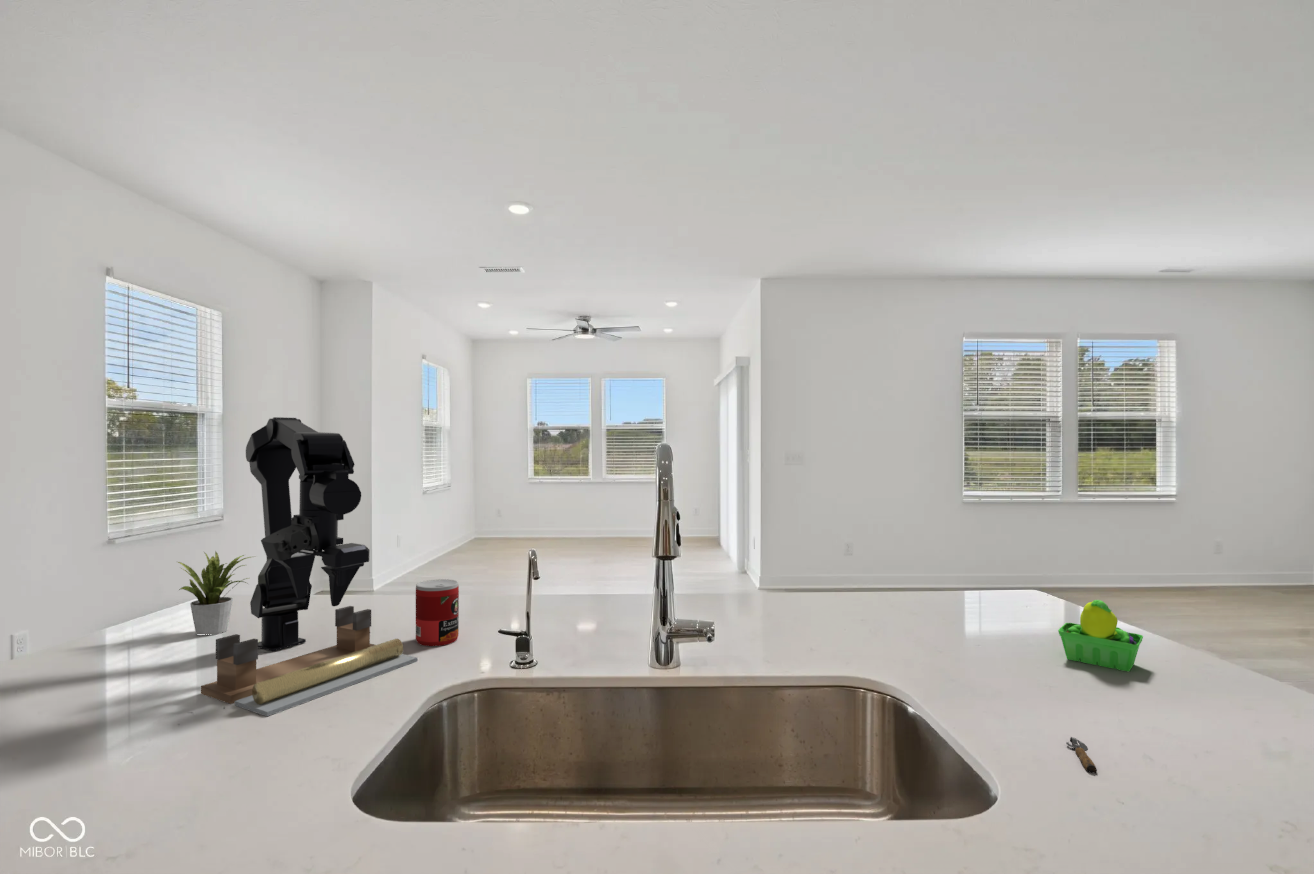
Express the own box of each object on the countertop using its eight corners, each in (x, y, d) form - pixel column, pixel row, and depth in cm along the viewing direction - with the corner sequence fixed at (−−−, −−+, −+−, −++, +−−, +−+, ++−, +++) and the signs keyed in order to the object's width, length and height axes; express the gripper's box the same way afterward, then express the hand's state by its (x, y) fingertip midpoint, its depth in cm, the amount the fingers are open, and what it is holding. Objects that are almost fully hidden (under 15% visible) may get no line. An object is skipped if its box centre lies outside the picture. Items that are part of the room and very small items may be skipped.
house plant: (272, 629, 132) (272, 549, 133) (195, 647, 121) (195, 559, 121) (237, 619, 140) (237, 543, 140) (161, 635, 128) (162, 552, 128)
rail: (263, 707, 92) (265, 686, 92) (251, 701, 94) (252, 680, 94) (402, 657, 113) (403, 640, 113) (390, 653, 115) (392, 636, 115)
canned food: (446, 648, 120) (446, 588, 120) (406, 645, 122) (407, 586, 122) (466, 636, 128) (466, 579, 128) (429, 633, 129) (429, 578, 129)
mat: (234, 705, 94) (234, 701, 94) (386, 653, 117) (386, 650, 117) (267, 716, 90) (267, 712, 90) (417, 660, 113) (417, 657, 113)
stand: (230, 703, 95) (230, 648, 95) (200, 693, 98) (201, 640, 98) (382, 652, 117) (382, 608, 117) (353, 646, 121) (353, 603, 121)
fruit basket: (1144, 664, 111) (1143, 598, 111) (1136, 678, 105) (1136, 607, 105) (1066, 649, 119) (1066, 587, 119) (1055, 661, 112) (1054, 596, 112)
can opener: (1097, 776, 74) (1097, 766, 74) (1073, 771, 75) (1073, 761, 75) (1085, 744, 82) (1085, 734, 82) (1063, 740, 83) (1063, 731, 83)
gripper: (236, 508, 106) (235, 604, 106) (307, 518, 97) (306, 623, 97) (302, 502, 115) (300, 590, 116) (372, 510, 107) (371, 605, 107)
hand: (317, 601), depth 108 cm, fingers open, 9 cm apart
